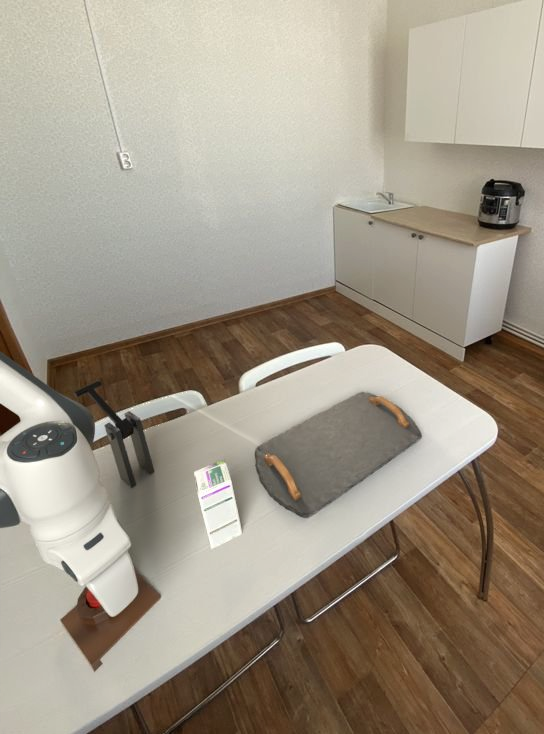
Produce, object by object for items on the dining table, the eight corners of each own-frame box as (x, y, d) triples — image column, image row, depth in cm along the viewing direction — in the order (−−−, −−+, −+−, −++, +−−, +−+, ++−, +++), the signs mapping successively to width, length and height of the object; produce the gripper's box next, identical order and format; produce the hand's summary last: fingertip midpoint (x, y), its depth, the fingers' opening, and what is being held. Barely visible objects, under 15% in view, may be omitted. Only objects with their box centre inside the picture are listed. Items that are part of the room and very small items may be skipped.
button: (85, 600, 60) (82, 593, 59) (109, 579, 62) (106, 571, 62) (96, 614, 58) (93, 607, 57) (121, 592, 61) (118, 585, 60)
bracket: (108, 482, 83) (89, 424, 78) (144, 458, 89) (129, 402, 84) (132, 504, 78) (114, 443, 73) (169, 476, 84) (154, 419, 79)
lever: (74, 396, 83) (73, 389, 82) (99, 384, 87) (98, 377, 86) (115, 444, 77) (115, 437, 76) (140, 429, 81) (140, 422, 80)
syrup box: (244, 538, 71) (233, 479, 66) (210, 555, 68) (197, 495, 63) (236, 514, 76) (226, 457, 71) (205, 528, 73) (192, 470, 68)
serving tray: (294, 539, 71) (291, 515, 69) (242, 463, 88) (239, 441, 85) (432, 439, 94) (433, 418, 91) (370, 394, 110) (370, 375, 108)
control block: (62, 625, 59) (55, 611, 57) (128, 567, 67) (123, 553, 65) (94, 672, 53) (87, 657, 52) (162, 603, 61) (157, 589, 60)
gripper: (21, 507, 57) (48, 569, 62) (84, 587, 47) (112, 654, 52) (69, 477, 62) (91, 537, 67) (136, 544, 52) (156, 608, 57)
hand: (100, 588), depth 59 cm, fingers closed, pressing on button
